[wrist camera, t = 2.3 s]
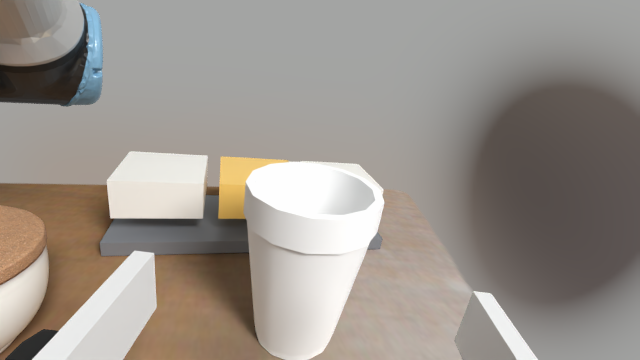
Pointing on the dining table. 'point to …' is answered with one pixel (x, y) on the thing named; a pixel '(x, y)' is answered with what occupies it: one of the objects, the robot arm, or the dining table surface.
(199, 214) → the key
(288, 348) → the foam cup
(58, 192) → the dining table surface
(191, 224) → the keypad base
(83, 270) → the dining table surface
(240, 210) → the amber key
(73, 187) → the dining table surface
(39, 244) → the lidded jar
